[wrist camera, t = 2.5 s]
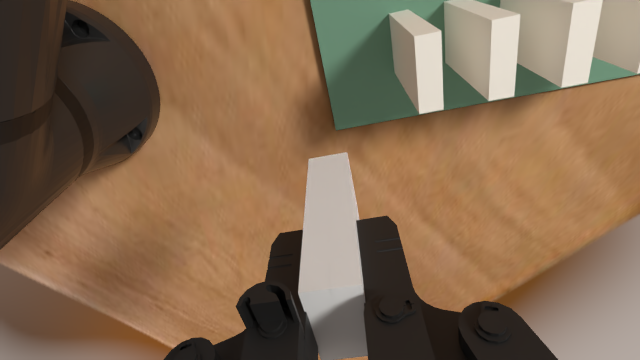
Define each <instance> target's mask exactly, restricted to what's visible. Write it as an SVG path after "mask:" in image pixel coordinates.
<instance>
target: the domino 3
mask: <svg viewBox="0 0 640 360" xmlns="http://www.w3.org/2000/svg"><path fill="white" fill-rule="evenodd" d="M602 2H603V0H500V8H501V9H505V10H508V11H511V12H515V13H518V14H520V27H519V40H518V53H517V63H518V64H520V65H522V66H523V67H525V68H527V69H529V70H531V71H532V72H534V73H536V74H538V75H539V76H541V77H543V78H545V79H547V80H548V81H550V82H552V83H554V84H556V85H557V86H559V87H561V88H562V87H568V86H573V85H579V84H584V83H588V79H589V74H590V68H591V63H592V57H593V52H594V46H595V41H596V35H597V30H598V24H599V19H600V13H601V8H602Z"/></svg>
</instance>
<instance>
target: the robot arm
mask: <svg viewBox="0 0 640 360" xmlns="http://www.w3.org/2000/svg"><path fill="white" fill-rule="evenodd" d="M159 112H160V96H159V90H158V86H157V82H156V79H155V76H154V73H153V71H152V69H151V67H150V65H149V63H148V61H147V59H146V58H145V56H144V55H143V53H142V52H141V50H140V49H139V47H138V46H137V45H136V44H135V43H134V41H133V40H132V39H131V38H130V37H129V36H128V35H127V34H126V33H125V32H124V31H123V30H122V29H121V28H120V27H119V26H117V25H116V24H115V23H114V22H112V21H111V20H110V19H108V18H107V17H105V16H104V15H102V14H100V13H99V12H97V11H95V10H93V9H91V8H89V7H87V6H85V5H82V4H79V3H77V2H73V1H70V0H0V249H1V248H3V247H4V246H5V245H6V244H7V243H8V242H9V241H10V240H11V239H12V238H13V237H14V236H16V235H17V234H18V233H19V232H20V231H21V230H22V229H23V228H24V227H25V226H26V225H27V224H28V223H30V222H31V221H32V220H33V219H34V218H35V217H36V216H37V215H38V214H39V213H40V212H41V211H42V210H44V209H45V208H46V207H47V206H48V205H49V204H50V203H51V202H52V201H53V200H54V199H55V198H57V197H58V196H59V195H60V194H61V193H62V192H63V191H64V190H65V189H66V188H67V187H68V186H69V185H71V184H72V183H73V182H74V181H75V180H76V179H77V178H78V177H79V176H81V175H83V174H86V173H89V172H92V171H95V170H98V169H101V168H104V167H107V166H110V165H113V164H116V163H118V162H121V161H123V160H125V159H126V158H128V157H130V156H131V155H132V154H134V153H135V152H136V151H137V150H138V149H139V148H140V147H141V146H142V145H143V144H144V143H145V142H146V141H147V140H148V139H149V137H150V136H151V135H152V133H153V131H154V129H155V127H156V125H157V122H158V118H159ZM236 308H237V310H238V312H239V314H240V316H241V318H242V320H243V322H244V324H245V326H246V328H247V329H245V330H244V331H243V332H241V333H240V334H238V335H236V336H234V337H232V338H229V339H227V340H225V341H222V342H220V343H218V344H215V345H212V343H211V342H210V341H209V340H207V339H204V338H202V337H200V338H191V339H189V340H186V341H184V342H182V343H180V344H179V345H177V346H176V347H175V348H174V349H172V350H171V351H170V352H169V354H168V355H167V356H166V358H165V359H164V360H318V353H319V355H320V358H321V360H335V359H344V358H353V357H362V356H368V360H558V359H557V358H556V357H555V356H554V354H553V353H552V352H551V351H550V350H549V349H548V348H547V346H546V345H545V344H544V343H543V342H542V341H541V340H540V338H539V337H538V336H537V335H536V334H535V333H534V332H533V331H532V329H531V328H530V327H529V326H528V325H527V323H526V322H525V321H524V320H523V319H522V318H521V317H520V316H519V315H518V314H517V313H516V312H514V311H513V310H512V309H511V308H509V307H506V306H504V305H502V304H500V303H496V302H489V301H482V302H476V303H472V304H471V305H469V306H467V307H466V308H464V310H463V311H462V313H460V312H454V311H448V310H442V309H439V308H435V307H433V306H431V305H429V304H427V303H425V302H424V301H423V300H421V299H420V298H419V297H418V295H417V294H416V293H415V291H414V288H413V286H412V282H411V278H410V274H409V270H408V267H407V263H406V259H405V255H404V252H403V248H402V244H401V240H400V236H399V233H398V229H397V225H396V224H395V223H394V222H393V221H392V220H391V219H390V218H389V217H388V216H382V217H376V218H369V219H363V220H359V215H358V208H357V202H356V197H355V192H354V186H353V181H352V176H351V170H350V165H349V160H348V154H347V152H345V153H340V154H334V155H328V156H323V157H317V158H311V159H309V163H308V175H307V188H306V200H305V213H304V225H303V230H298V231H291V232H285V233H280V234H279V235H278V237H277V238H276V239H275V241H274V242H273V244H272V246H271V252H270V260H269V262H268V270H267V273H266V279H265V282H262V283H258V284H256V285H254V286H253V287H251V288H249V289H248V290H247V291H246V292H245V293H244V294H243V295H242V296H241V297H240V299H239V301H238V303H237V305H236Z"/></svg>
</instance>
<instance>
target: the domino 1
mask: <svg viewBox="0 0 640 360" xmlns="http://www.w3.org/2000/svg"><path fill="white" fill-rule="evenodd" d="M389 20H390V30H391V41H392V51H393V61H394V71H395V74H396V76H397V78H398V79H399V81H400V83H401V84H402V86H403V88H404V89H405V91H406V93H407V94H408V96H409V98H410V99H411V101H412V103H413V104H414V106H415V108H416V109H417V111H418V113H419V114H422V113H428V112H433V111H438V110H444V104H443V69H442V34H441V30H439V29H438V28H436V27H435V26H433V25H432V24H430V23H429V22H427V21H425V20H424V19H422V18H421V17H419V16H418V15H416V14H415V13H413V12H412V11H410V10H403V11H398V12H394V13H389Z"/></svg>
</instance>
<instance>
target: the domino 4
mask: <svg viewBox="0 0 640 360" xmlns="http://www.w3.org/2000/svg"><path fill="white" fill-rule="evenodd" d="M593 57H594V58H597V59H600V60H602V61H605V62H608V63H610V64H613V65H616V66H618V67H621V68H623V69H626V70H629V71H631V72H634V73H637V74H638V73H640V0H603V2H602V8H601V13H600V19H599V24H598V30H597V35H596V41H595V46H594V52H593Z"/></svg>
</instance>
